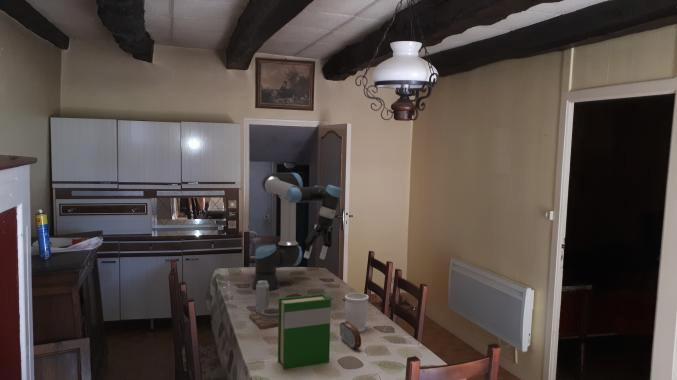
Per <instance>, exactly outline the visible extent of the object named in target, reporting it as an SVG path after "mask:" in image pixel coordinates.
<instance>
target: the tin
mask: <svg viewBox="0 0 677 380" xmlns="http://www.w3.org/2000/svg"><path fill="white" fill-rule="evenodd" d="M339 333H340V334H339V335H340V337H341V340H342V341H343V343H344V344H346V345H347V346H348V347H349V348H350V349H353V350H356V349H360V348H361V346H362V337H361V334H360V333H361V332H359V331H358V329H357V328H356V327H355V326H353V325H352V324H351V323H350V322H348V321H346V320H345V321H343V322H341V323H340V325H339Z"/></svg>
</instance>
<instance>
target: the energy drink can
mask: <svg viewBox="0 0 677 380" xmlns="http://www.w3.org/2000/svg"><path fill="white" fill-rule="evenodd" d="M269 297H270V291H269V284H268V281H264V280H261V281H258V283H257V285H256V290H255V312H256V314H258V313H260V311H261V310H263V309H265V308H270V306H269V304H270V303H269V301H270V298H269Z"/></svg>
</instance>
